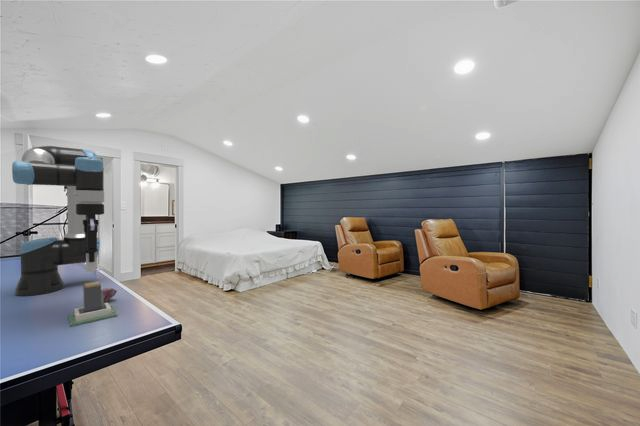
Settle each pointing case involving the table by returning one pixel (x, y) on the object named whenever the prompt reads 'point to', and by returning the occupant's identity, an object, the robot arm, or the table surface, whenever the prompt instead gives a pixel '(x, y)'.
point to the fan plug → (93, 297)
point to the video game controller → (108, 293)
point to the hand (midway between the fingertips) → (91, 270)
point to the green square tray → (91, 315)
